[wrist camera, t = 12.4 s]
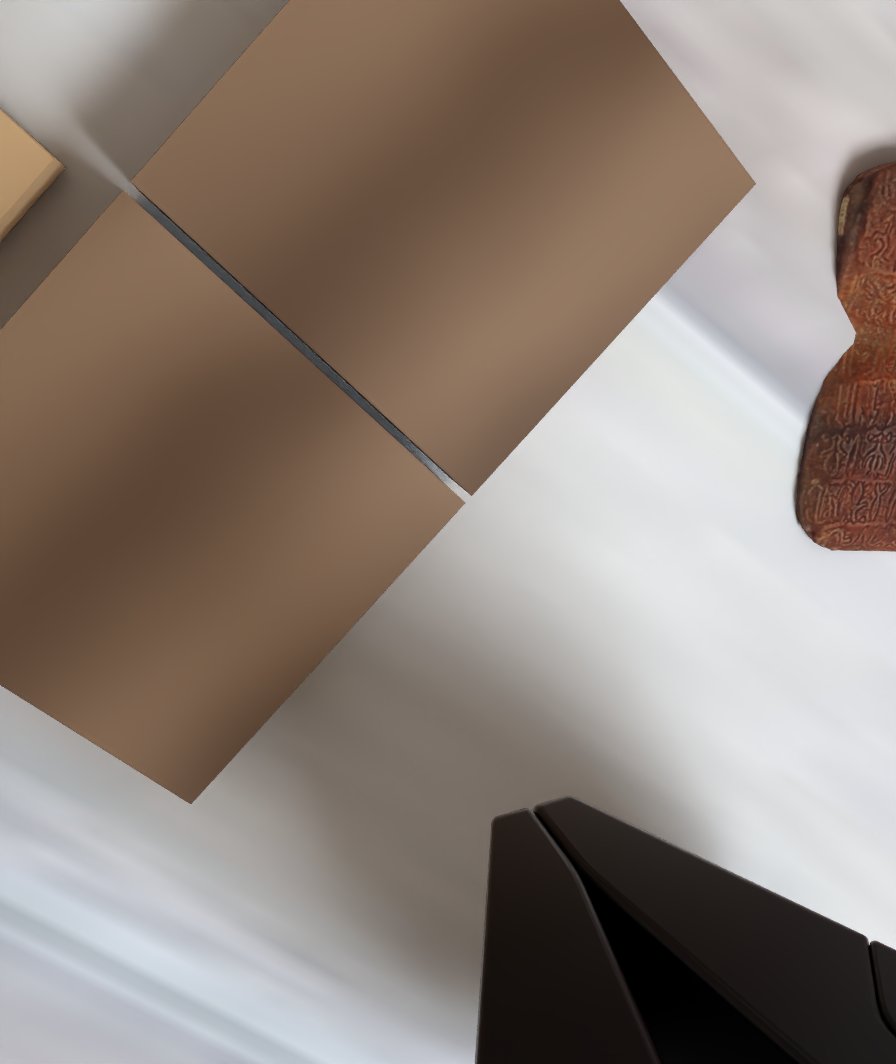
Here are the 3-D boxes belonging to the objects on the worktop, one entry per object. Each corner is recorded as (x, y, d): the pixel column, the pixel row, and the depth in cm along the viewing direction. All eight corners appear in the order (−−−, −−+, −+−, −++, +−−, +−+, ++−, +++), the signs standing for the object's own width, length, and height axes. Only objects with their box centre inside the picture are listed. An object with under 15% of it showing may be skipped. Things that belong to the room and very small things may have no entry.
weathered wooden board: (714, 192, 19) (756, 183, 18) (193, 765, 20) (190, 804, 18) (445, -158, 16) (468, -204, 15) (-162, 535, 17) (-201, 559, 15)
